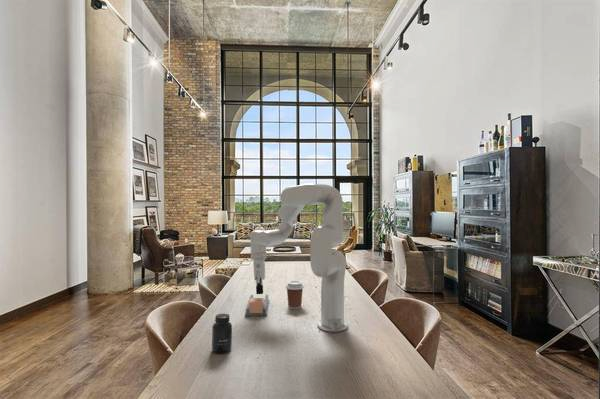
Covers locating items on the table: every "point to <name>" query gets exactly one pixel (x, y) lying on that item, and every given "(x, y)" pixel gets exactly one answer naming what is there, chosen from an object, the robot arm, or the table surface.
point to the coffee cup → (294, 294)
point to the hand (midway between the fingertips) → (259, 293)
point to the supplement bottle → (221, 334)
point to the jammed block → (256, 305)
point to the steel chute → (265, 308)
